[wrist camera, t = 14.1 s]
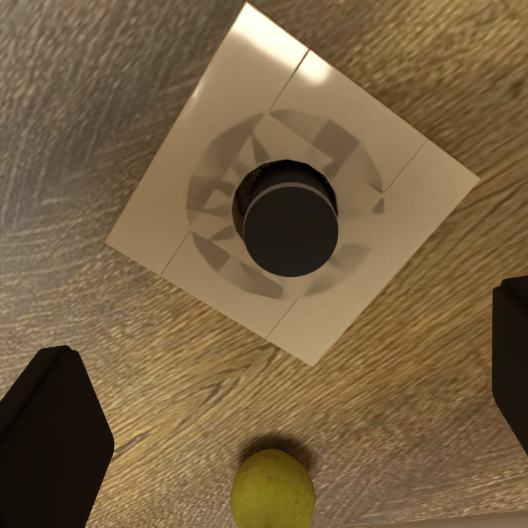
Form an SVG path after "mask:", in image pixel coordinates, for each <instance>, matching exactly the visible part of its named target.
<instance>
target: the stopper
mask: <svg viewBox="0 0 528 528" xmlns="http://www.w3.org/2000/svg"><path fill="white" fill-rule="evenodd" d="M338 232H339V227H338V220H337V216H336V213H335V210H334V208H333V206H332V203H331V200H330V196H329V193H328V189H327V186H326V183H325V181H324V179H323V177H322V176H321V175H320V173H319V172H318V171H317V170H315V169H314V168H312V167H311V166H310V165H308V164H306V163H301V162H297V161H292V160H282V161H278V162H275V163H273V164H271V165H269V166H268V167H266V168H265V169H264V170H263V171H262V172H261V173H260V174H259V175H258V177H257V178H256V180H255V182H254V184H253V187H252V191H251V196H250V201H249V205H248V210H247V212H246V215H245V219H244V225H243V236H244V242H245V246H246V249H247V251H248V253H249V255H250V256H251V258H252V259H253V260H254V261H255V263H256V264H258V265H259V266H260V267H261V268H263V269H264V270H266V271H267V272H269V273H272V274H274V275H278V276H282V277H299V276H304V275H307V274H310V273H312V272H314V271H316V270H317V269H319V268H320V267H322V266H323V265H324V264H325V263H326V262H327V261H328V260H329V258H330V257H331V256H332V254H333V252H334V250H335V248H336V245H337V241H338Z"/></svg>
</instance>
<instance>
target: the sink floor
mask: <svg viewBox="0 0 528 528" xmlns="http://www.w3.org/2000/svg"><path fill="white" fill-rule="evenodd" d="M285 159H287V160H292V161H297V162H301V163H306V164H308V165H310V166H311V167H312V168H314V169H315V170H317V171H318V172H320V173H321V174H322V175H324V176H325V178H326V179H327V181H328V182H329V184H330V186H331V188H332V195H333V198H332V202H331V203H332V206H333V208H334V210H335V213H336V216H337V220H338V227H339V232H338V241H337V245H336V248H335V250H334V252H333V254H332V256H331V257H330V258H329V260H328V261H327V262H326V263H325V264H324V265H323V266H322V267H320V268H319V269H317V270H316V271H314V272H312V273H310V274H307V275H304V276H299V277H282V276H278V275H274V274H272V273H269V272H267V271H266V270H264V269H263V268H261V267H260V266H259V265H258V264H256V263H255V261H254V260H253V259H252V258H251V256H250V255H249V253H248V251H247V249H246V246H245V242H244V236H243V225H244V217H243V216H242V215H241V213H240V209H239V205H238V200H237V196H236V195H237V190H238V187H239V185H240V184H241V183H242V181H243V180H244V178H245V177H246V175H247V174H248V173H250V172H252V171H253V170H255V169H256V168H258V167H259V166H261V165H262V164H264V163H268V162H274V161H279V160H285ZM479 181H480V178H479V177H478V176H477V175H475V174H474V173H473V172H471V171H470V170H469V169H467V168H466V167H465V166H464V165H462V164H461V163H460V162H458V161H457V160H456V159H454V158H453V157H452V156H450V155H449V154H448V153H446V152H445V151H444V150H442V149H441V148H440V147H439V146H437V145H436V144H435V143H433V142H432V141H431V140H429V139H428V138H427V137H425V136H424V135H423V134H421V133H420V132H419V131H418V130H416V129H415V128H414V127H412V126H411V125H410V124H408V123H407V122H406V121H404V120H403V119H402V118H400V117H399V116H398V115H396V114H395V113H394V112H393V111H391V110H390V109H389V108H387V107H386V106H385V105H383V104H382V103H381V102H379V101H378V100H377V99H375V98H374V97H373V96H372V95H370V94H369V93H368V92H366V91H365V90H364V89H362V88H361V87H360V86H358V85H357V84H356V83H354V82H353V81H352V80H350V79H349V78H348V77H347V76H345V75H344V74H343V73H341V72H340V71H339V70H337V69H336V68H335V67H333V66H332V65H331V64H329V63H328V62H327V61H326V60H324V59H323V58H322V57H320V56H319V55H318V54H316V53H315V52H314V51H312V50H311V49H309V48H308V47H307V46H306V45H304V44H303V43H302V42H301V41H299V40H298V39H297V38H295V37H294V36H293V35H291V34H290V33H289V32H287V31H286V30H285V29H283V28H282V27H281V26H280V25H278V24H277V23H276V22H274V21H273V20H272V19H270V18H269V17H268V16H266V15H265V14H264V13H262V12H261V11H260V10H258V9H257V8H256V7H255V6H253V5H252V4H251V3H249V2H248V1H246V2H245V3H244V5H243V7H242V8H241V10H240V12H239V13H238V15H237V17H236V19H235V20H234V22H233V24H232V25H231V27H230V29H229V30H228V32H227V34H226V36H225V37H224V39H223V41H222V42H221V44H220V46H219V48H218V49H217V51H216V53H215V54H214V56H213V58H212V60H211V61H210V63H209V65H208V66H207V68H206V70H205V71H204V73H203V75H202V77H201V78H200V80H199V82H198V83H197V85H196V87H195V89H194V90H193V92H192V94H191V95H190V97H189V99H188V100H187V102H186V104H185V106H184V107H183V109H182V111H181V112H180V114H179V116H178V118H177V119H176V121H175V123H174V124H173V126H172V128H171V130H170V131H169V133H168V135H167V136H166V138H165V140H164V141H163V143H162V145H161V147H160V148H159V150H158V152H157V153H156V155H155V157H154V159H153V160H152V162H151V164H150V165H149V167H148V169H147V170H146V172H145V174H144V176H143V177H142V179H141V181H140V182H139V184H138V186H137V188H136V189H135V191H134V193H133V194H132V196H131V198H130V200H129V201H128V203H127V205H126V206H125V208H124V210H123V211H122V213H121V215H120V217H119V218H118V220H117V222H116V223H115V225H114V227H113V229H112V230H111V232H110V234H109V235H108V237H107V239H106V240H105V243H106V244H107V245H109V246H111V247H112V248H114V249H116V250H117V251H119V252H121V253H122V254H124V255H126V256H127V257H129V258H131V259H132V260H134V261H136V262H137V263H139V264H141V265H142V266H144V267H146V268H147V269H149V270H151V271H152V272H154V273H156V274H157V275H160V276H161V277H162V278H164V279H165V280H167V281H169V282H170V283H172V284H174V285H175V286H177V287H179V288H180V289H182V290H184V291H185V292H187V293H189V294H190V295H192V296H194V297H195V298H197V299H199V300H200V301H202V302H204V303H206V304H207V305H209V306H211V307H212V308H214V309H216V310H217V311H219V312H221V313H222V314H224V315H226V316H227V317H229V318H231V319H232V320H234V321H236V322H237V323H239V324H241V325H242V326H244V327H246V328H247V329H249V330H251V331H252V332H254V333H256V334H257V335H259V336H261V337H262V338H264V339H266V340H268V341H269V342H271V343H273V344H274V345H276V346H278V347H279V348H281V349H283V350H284V351H286V352H288V353H289V354H291V355H293V356H295V357H296V358H298V359H300V360H301V361H303V362H305V363H306V364H308V365H310V366H311V367H313V366H314V365H315V364H316V363H317V362H318V361H319V360H320V359H321V357H322V356H323V355H324V354H325V353H326V352H327V351H328V350H329V349H330V347H331V346H332V345H333V344H334V343H335V342H336V341H337V340H338V338H339V337H340V336H341V335H342V334H343V333H344V332H345V331H346V329H347V328H348V327H349V326H350V325H351V324H352V323H353V322H354V321H355V319H356V318H357V317H358V316H359V315H360V314H361V313H362V312H363V310H364V309H365V308H366V307H367V306H368V305H369V304H370V303H371V301H372V300H373V299H374V298H375V297H376V296H377V295H378V294H379V293H380V291H381V290H382V289H383V288H384V287H385V286H386V285H387V284H388V282H389V281H390V280H391V279H392V278H393V277H394V276H395V275H396V273H397V272H398V271H399V270H400V269H401V268H402V267H403V266H404V265H405V263H406V262H407V261H408V260H409V259H410V258H411V257H412V256H413V254H414V253H415V252H416V251H417V250H418V249H419V248H420V247H421V245H422V244H423V243H424V242H425V241H426V240H427V239H428V238H429V237H430V235H431V234H432V233H433V232H434V231H435V230H436V229H437V228H438V226H439V225H440V224H441V223H442V222H443V221H444V220H445V219H446V217H447V216H448V215H449V214H450V213H451V212H452V211H453V210H454V209H455V207H456V206H457V205H458V204H459V203H460V202H461V201H462V200H463V198H464V197H465V196H466V195H467V194H468V193H469V192H470V191H471V189H472V188H473V187H474V186H475V185H476V184H477V183H478V182H479Z"/></svg>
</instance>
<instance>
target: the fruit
mask: <svg viewBox="0 0 528 528" xmlns="http://www.w3.org/2000/svg"><path fill="white" fill-rule="evenodd" d="M315 502H316V494H315V489H314V486H313V482H312V480H311V478H310V476H309V474H308V472H307V471H306V469H305V468H304V467H303V466H302V464H301V463H299V462H298V461H297V460H295V459H294V458H293V457H291V456H290V455H288V454H287V453H285V452H283V451H280V450H278V449H266V450H262V451H260V452H257V453H255V454H253V455H252V456H251V457H249V458H248V459H246V460H245V462H244V463H243V464H242V465H241V467H240V468H239V470H238V472H237V474H236V476H235V478H234V481H233V486H232V491H231V508H232V514H233V517H234V520H235V522H236V524H237V526H238V528H308V527H309V525H310V523H311V520H312V517H313V513H314V509H315Z"/></svg>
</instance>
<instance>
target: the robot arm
mask: <svg viewBox="0 0 528 528" xmlns="http://www.w3.org/2000/svg"><path fill="white" fill-rule="evenodd" d="M492 392H493V396H494V399H495V402H496V404H497V406H498V408H499V409H500V411H501V413H502V414H503V416H504V417H505V419H506V421H507V422H508V424H509V426H510V427H511V429H512V431H513V432H514V434H515V436H516V437H517V439H518V441H519V442H520V444H521V446H522V447H523V449H524V450H525V452H526V454H527V455H528V275H527V276H521V277H514V278H508V279H503V280H502V282H501V286H499V287H495V288H494V289H493V309H492ZM113 452H114V438H113V435H112V433H111V430H110V428H109V425H108V423H107V420H106V418H105V415H104V413H103V411H102V408H101V406H100V403H99V401H98V398H97V396H96V393H95V391H94V388H93V386H92V384H91V381H90V379H89V376H88V374H87V371H86V369H85V366H84V364H83V361H82V359H81V357H80V355H79V353H78V352H77V351H76V350H72V349H71V348H70V347H69V346H67V345H62V346H56V347H49V348H43V349H40V350H39V351H38V352H37V354H36V355H35V356H34V358H33V359H32V360H31V361H30V363H29V364H28V365H27V367H26V368H25V369H24V371H23V372H22V373H21V375H20V376H19V377H18V379H17V380H16V381H15V383H14V384H13V385H12V387H11V388H10V389H9V391H8V392H7V393H6V395H5V396H4V397H3V399H2V400H1V401H0V528H85V525H86V523H87V520H88V518H89V515H90V512H91V510H92V507H93V505H94V502H95V499H96V497H97V494H98V492H99V489H100V487H101V484H102V481H103V479H104V476H105V474H106V471H107V468H108V466H109V463H110V461H111V458H112V456H113ZM354 528H528V510H526V511H515V512H504V513H492V514H481V515H471V516H462V517H452V518H442V519H432V520H422V521H413V522H403V523H393V524H383V525H373V526H364V527H354Z"/></svg>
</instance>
